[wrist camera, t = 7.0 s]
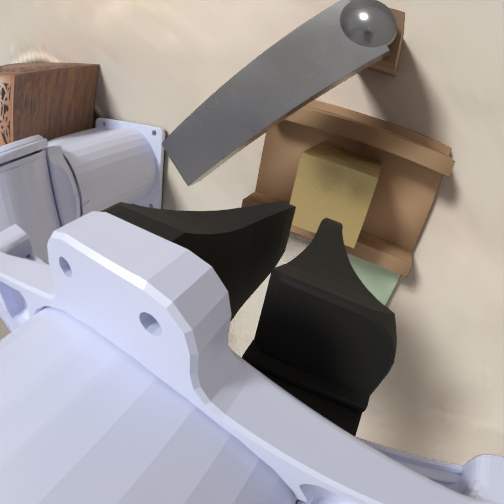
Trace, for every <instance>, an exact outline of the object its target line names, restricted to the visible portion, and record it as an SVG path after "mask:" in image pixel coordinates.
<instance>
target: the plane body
mask: <svg viewBox="0 0 504 504" xmlns="http://www.w3.org/2000/svg"><path fill="white" fill-rule="evenodd" d="M349 1H350V2H351V1H353V0H349ZM389 9H390V10H391V12H392V13H393V15H394V17H395V19H396V24H397V35H396V39H395V41H394V43H393V44H392V45H391V46H390V47H389V50H390V55H389V56H387V57H385V58H383V59H381V60H380V61H378V62H376V63H374V64H373V65H371V66H369V67H367V68H370V69H373V70H376V71H380V72H383V73H386V74H389V75H392V76H395V75H396V71H397V66H398V61H399V57H400V52H401V47H402V41H403V34H404V22H405V12H402V11H398V10H395V9H391V8H389ZM323 141H324V142H327V143H331V144H334V145H337V146H340V147H343V148H346V149H349V150H352V151H355V152H358V153H361V154H364V155H367V156H369V157H372V158H375V159H378V160H380V161H383V162H382V166H381V170H380V174H379V178H378V181H377V184H376V187H375V191H374V194H373V197H372V200H371V202H370V205H369V208H368V211H367V214H366V217H365V220H364V222H363V225H362V228H361V231H360V234H359V236H358V239H357V242H356V244H355V247H354V248H351V247H349V246H346V245H345V249H346V252H347V253H348V254H351V255H353V256H356V257H358V258H361V259H363V260H366V261H368V262H371V263H373V264H376V265H378V266H381V267H383V268H386V269H388V270H390V271H393V272H395V273H398V274H400V275H402V276H405V277H407V275H408V273H409V271H410V269H411V267H412V265H413V262H412V250H413V248H414V245H415V243H416V241H417V239H418V236H419V234H420V232H421V230H422V227H423V225H424V222H425V220H426V218H427V215H428V213H429V210H430V208H431V205H432V203H433V200H434V198H435V195H436V192H437V190H438V187H439V184H440V181H441V179H442V176H443V174H444V175H446V176H448V177H450V174H451V171H452V168H453V165H454V162H455V161H454V160H453V159H452V158H451V157H450V156H449V155H450V152H451V149H452V148H450V147H448V146H446V145H444V144H441V143H439V142H437V141H435V140H432V139H430V138H427V137H425V136H423V135H420V134H418V133H415V132H413V131H410V130H407V129H405V128H402V127H400V126H397V125H394V124H391V123H389V122H386V121H383V120H380V119H377V118H374V117H371V116H368V115H365V114H362V113H359V112H355V111H352V110H349V109H345V108H342V107H338V106H335V105H331V104H328V103H324V102H320V101H316V100H313V101H311V102H310V103H308V104H307V105H305V106H304V107H302V108H301V109H299V110H298V111H296V112H295V113H293V114H292V115H290V116H289V117H287V118H286V119H284V120H283V121H281V122H280V123H278V124H277V125H275V126H274V127H272V128H271V129H270V130H268V131H267V132H266V136H265V142H264V147H263V152H262V158H261V163H260V169H259V174H258V179H257V185H256V190H255V192H254V193H252V194H251V195H249V196H248V197H246V198H245V199H243V202H242V207H249V206H254V205H259V204H265V203H270V202H277V201H282V202H285V203H288V204H290V200H291V195H292V191H293V187H294V183H295V178H296V174H297V170H298V165H299V161H300V157H301V152H303V151H305V150H307V149H309V148H311V147H313V146H315V145H317V144H319V143H321V142H323ZM290 231H291V232H294V233H297V234H299V235H302V236H305V237H307V238H310V239H312V240H313V238H314V236H315V233H313V232H310V231H308V230H305V229H302V228H300V227H297V226H294V225H291V229H290Z"/></svg>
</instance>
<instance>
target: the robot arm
mask: <svg viewBox="0 0 504 504" xmlns="http://www.w3.org/2000/svg"><path fill="white" fill-rule="evenodd" d="M155 131H156V134H155ZM164 140H165V130H164V129H163V128H160V127H155V126H149V125H144V124H138V123H132V122H126V121H120V120H114V119H107V118H97V119H96V128H92V129H88V130H84V131H80V132H76V133H73V134H69V135H65V136H62V137H58V138H55V139H52V140H50V141H48V140H47V139H46V138H43V137H42V136H40V135H35V136H31V137H28V138H25V139H22V140H18V141H15V142H12V143H9V144H6V145H4V146H1V147H0V317H1V318H2V320H3V321H4V322H5V324H6V325H7V327H8V328H9V329H10V331H11V333H10V334H8V335H7V336H6V337H5V338H3V339H2V340H1V341H0V504H504V457H502V456H496V455H491V454H482V455H478V456H476V457H474V458H473V459H471V460H470V461H468V462H467V463H466V464H465V465H463V466H462V465H457V464H452V463H447V462H443V461H438V460H434V459H430V458H426V457H422V456H418V455H414V454H410V453H406V452H403V451H399V450H396V449H392V448H389V447H386V446H383V445H379V444H376V443H373V442H370V441H367V440H364V439H361V438H358V437H355V435H356V432H357V428H358V425H359V422H360V418H361V414H362V412H364V411H365V410H366V408H367V405H368V401H369V397H370V395H371V394H372V393H373V391H374V390H375V389H376V388H377V386H378V385H379V384H380V383H381V381H382V380H383V379H384V378H385V376H386V375H387V374H388V372H389V371H390V369H391V367H392V365H393V363H394V358H395V353H396V342H397V338H396V323H395V314H394V313H393V312H392V311H391V310H389V309H388V308H387V307H386V306H385V305H383V304H382V303H381V302H380V301H379V300H378V299H376V297H375V296H374V295H373V294H372V293H371V292H370V291H369V290H368V289H367V288H366V287H365V285H364V284H363V283H362V281H361V280H360V279H359V277H358V276H357V274H356V273H355V271H354V269H353V267H352V265H351V263H350V261H349V258H348V255H347V252H346V249H345V245H344V240H343V233H342V229H343V226H342V223H340V222H337V221H334V220H332V219H329V218H324V219H323V220H322V221H321V223H320V225H319V227H318V230H317V232H316V234H315V236H314V238H313V240H312V242H311V243H310V244H309V245H308V246H307V247H306V249H305V250H304V251H303V252H301V253H300V254H299V255H298V256H297V257H296V258H294V259H293V260H291V261H290V262H288V263H287V264H284V265H281V266H279V267H275V266H276V265H277V263H278V262H279V260H280V258H281V257H282V255H283V253H284V252H285V248H286V245H287V241H288V237H289V233H290V229H291V225H292V221H293V217H294V213H295V209H296V206H293V205H290V204H288V203H285V202H282V201H277V202H270V203H265V204H259V205H254V206H249V207H242V208H235V209H229V210H219V211H176V210H165V209H161V200H162V177H163V159H164V148H163V146H162V145H161V143H162V142H163V141H164ZM134 204H136V205H134ZM152 205H153V206H152ZM270 273H271V276H270V280H269V284H268V288H267V292H266V296H265V300H264V304H263V307H262V311H261V315H260V319H259V323H258V327H257V331H256V334H255V338H254V340H253V341H252V343H251V344H250V346H249V347H248V348H247V350H246V351H245V353H244V354H243V357H242V358H241V357H240V356H238V355H237V354H236V353H234V352H233V351H232V350H231V348H230V347H229V345H228V332H229V326H230V322H231V321H232V319H233V318H234V316H235V315H236V313H237V312H238V310H239V309H240V308H241V307H242V305H243V304H244V303H245V302H246V300H247V299H248V298H249V297H250V296H251V295H252V294H253V293H254V291H255V290H256V289H257V288H258V287H259V286H260V285H261V283H262V282H263V281H264V280H265V279H266V278H267V276H268V275H269V274H270Z"/></svg>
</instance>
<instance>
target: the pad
mask: <svg viewBox="0 0 504 504" xmlns="http://www.w3.org/2000/svg"><path fill="white" fill-rule="evenodd" d="M347 255H348V258H349V261H350V263H351V265H352V267H353V269H354V271H355V273H356V274H357V276H358V277H359V279H360V280H361V281H362V283H363V284H364V285H365V287H366V288H367V289H368V290H369V291H370V292H371V293H372V294H373V295H374V296H375V297H376V299H378V300H379V301H380V302H381V303H382V304H383V305H386V303H387V301H388V299H389V297H390V295H391V293H392V291H393V289H394V288H395V286H396V284H397V282H398V280H399V278H400V276H401V275H400V274H398V273H395V272H393V271H390V270H388V269H386V268H383V267H381V266H378V265H376V264H373V263H371V262H368V261H366V260H363V259H361V258H358V257H356V256H353V255H351V254H348V253H347Z"/></svg>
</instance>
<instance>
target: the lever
mask: <svg viewBox="0 0 504 504" xmlns="http://www.w3.org/2000/svg"><path fill="white" fill-rule="evenodd" d="M396 35H397V24H396V19H395V17H394V15H393V13H392V12H391V10H390V9H389V8H388V7H387V6H386V5H384V4H383V3H381V2H379V1H377V0H353V1H351V2H350V1H349V0H340V1H339V2H337V3H335V4H334V5H332V6H330V7H329V8H327V9H326V10H324V11H322V12H321V13H319V14H318V15H316V16H314V17H313V18H311V19H310V20H308V21H307V22H305V23H304V24H302V25H301V26H299V27H298V28H296V29H295V30H294V31H292V32H291V33H289V34H288V35H286V36H285V37H284V38H282V39H281V40H280V41H278V42H277V43H275V44H274V45H273V46H271V47H270V48H269V49H267V50H266V51H265V52H263V53H262V54H261V55H259V56H258V57H257V58H256V59H254V60H253V61H252V62H251V63H249V64H248V65H247V66H246V67H244V68H243V69H242V70H241V71H239V72H238V73H237V74H236V75H235V76H233V77H232V78H231V79H230V80H229V81H227V82H226V83H225V84H224V85H223V86H222V87H220V88H219V89H218V90H217V91H216V92H215V93H214V94H212V95H211V96H210V97H209V98H208V99H207V100H206V101H205V102H204V103H202V104H201V105H200V106H199V107H198V108H197V109H196V110H195V111H194V112H193V113H192V114H191V115H190V116H188V117H187V118H186V119H185V120H184V121H183V122H182V123H181V124H180V125H179V126H178V127H177V128H176V129H175V130H174V131H173V132H172V133H171V134H170V135H169V136H168V137H167V138H166V139H165V140H164V141H163V142H162V143H161V145H162V146H163V148H164V149H165V151H166V153H167V154H168V156H169V157H170V159H171V160H172V162H173V163H174V165H175V167H176V168H177V170H178V171H179V173H180V174H181V176H182V178H183V179H184V181H185V182H186V184H187V185H188V186H190V185H192V184H194V183H197V182H199V181H201V180H202V179H203V178H204V177H206V176H207V175H208V174H210V173H211V172H212V171H214V170H215V169H216V168H217V167H219V166H220V165H221V164H223V163H224V162H225V161H227V160H228V159H229V158H231V157H232V156H233V155H235V154H236V153H237V152H239V151H240V150H242V149H243V148H244V147H246V146H247V145H248V144H250V143H251V142H253V141H254V140H255V139H257V138H258V137H260V136H261V135H262V134H264V133H265V132H267V131H268V130H270V129H271V128H272V127H274V126H275V125H277V124H278V123H280V122H281V121H283V120H284V119H286V118H287V117H289V116H290V115H292V114H293V113H295V112H296V111H298V110H299V109H301V108H302V107H304V106H305V105H307V104H308V103H310V102H311V101H313V100H314V99H316V98H318V97H319V96H321V95H322V94H324V93H326V92H327V91H329V90H330V89H332V88H334V87H335V86H337V85H338V84H340V83H342V82H343V81H345V80H347V79H348V78H350V77H352V76H353V75H355V74H357V73H359V72H360V71H362V70H364V69H366V68H367V67H369V66H371V65H373V64H374V63H376V62H378V61H380V60H381V59H383V58H385V57H387V56H389V55H390V50H389V47H390V46H391V45H392V44H393V43H394V41H395V39H396Z"/></svg>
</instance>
